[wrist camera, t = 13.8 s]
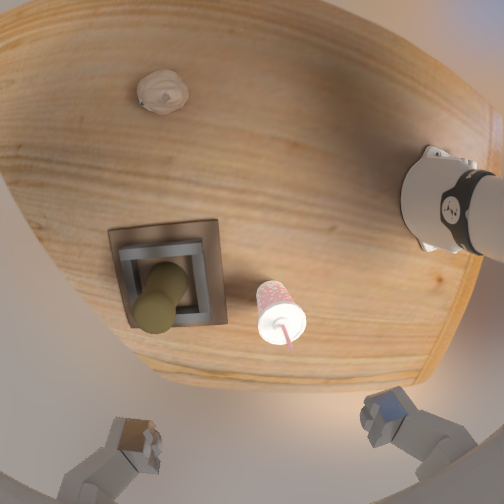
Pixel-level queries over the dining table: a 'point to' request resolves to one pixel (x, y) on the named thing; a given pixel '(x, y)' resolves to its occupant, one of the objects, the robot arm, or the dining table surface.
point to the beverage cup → (278, 314)
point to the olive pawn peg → (160, 298)
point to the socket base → (183, 254)
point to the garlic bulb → (162, 92)
